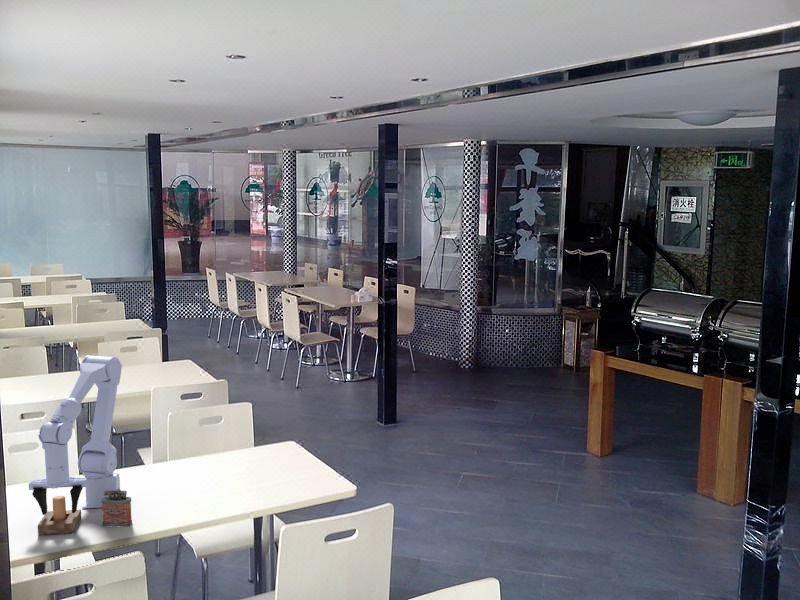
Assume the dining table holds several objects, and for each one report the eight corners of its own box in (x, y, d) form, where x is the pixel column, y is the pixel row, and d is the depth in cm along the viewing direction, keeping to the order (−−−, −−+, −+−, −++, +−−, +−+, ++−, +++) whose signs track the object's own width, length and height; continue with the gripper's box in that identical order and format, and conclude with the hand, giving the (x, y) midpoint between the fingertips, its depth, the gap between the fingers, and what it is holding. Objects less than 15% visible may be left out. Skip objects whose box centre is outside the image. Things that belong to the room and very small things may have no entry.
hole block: (81, 519, 215) (80, 509, 214) (73, 533, 206) (73, 523, 206) (47, 521, 213) (46, 511, 213) (38, 535, 204) (37, 525, 204)
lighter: (133, 521, 214) (132, 487, 213) (130, 526, 211) (128, 492, 209) (104, 521, 214) (103, 487, 212) (100, 526, 210) (99, 492, 209)
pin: (67, 522, 211) (66, 495, 210) (65, 527, 208) (64, 499, 207) (55, 523, 211) (53, 496, 210) (52, 528, 208) (51, 500, 207)
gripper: (24, 471, 202) (27, 520, 204) (81, 468, 204) (84, 516, 206) (31, 462, 209) (34, 509, 211) (87, 459, 211) (89, 506, 213)
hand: (59, 512), depth 209 cm, fingers open, 7 cm apart
